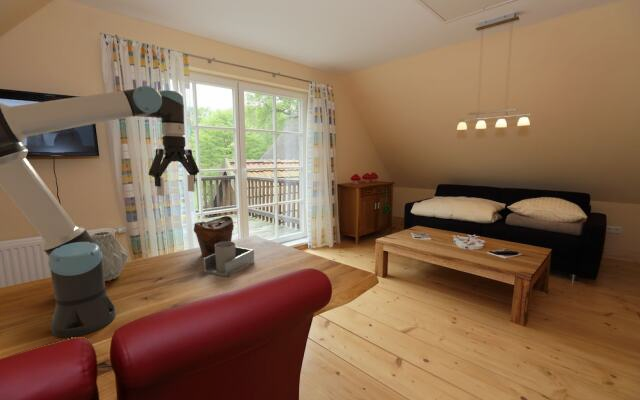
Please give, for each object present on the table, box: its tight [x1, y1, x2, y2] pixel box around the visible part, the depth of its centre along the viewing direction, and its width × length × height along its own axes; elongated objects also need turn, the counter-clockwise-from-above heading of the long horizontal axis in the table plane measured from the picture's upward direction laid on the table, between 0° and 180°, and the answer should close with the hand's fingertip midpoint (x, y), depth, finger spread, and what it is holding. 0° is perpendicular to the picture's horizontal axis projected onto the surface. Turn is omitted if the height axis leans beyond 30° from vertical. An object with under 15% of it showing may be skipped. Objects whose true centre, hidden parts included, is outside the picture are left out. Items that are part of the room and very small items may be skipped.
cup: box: [215, 241, 236, 271], centre depth 129 cm, size 8×8×10 cm
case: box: [193, 215, 235, 258], centre depth 147 cm, size 18×20×18 cm
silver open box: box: [202, 245, 255, 278], centre depth 132 cm, size 18×12×6 cm
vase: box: [90, 231, 130, 282], centre depth 119 cm, size 16×16×18 cm
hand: (176, 193), depth 113 cm, fingers open, 13 cm apart
